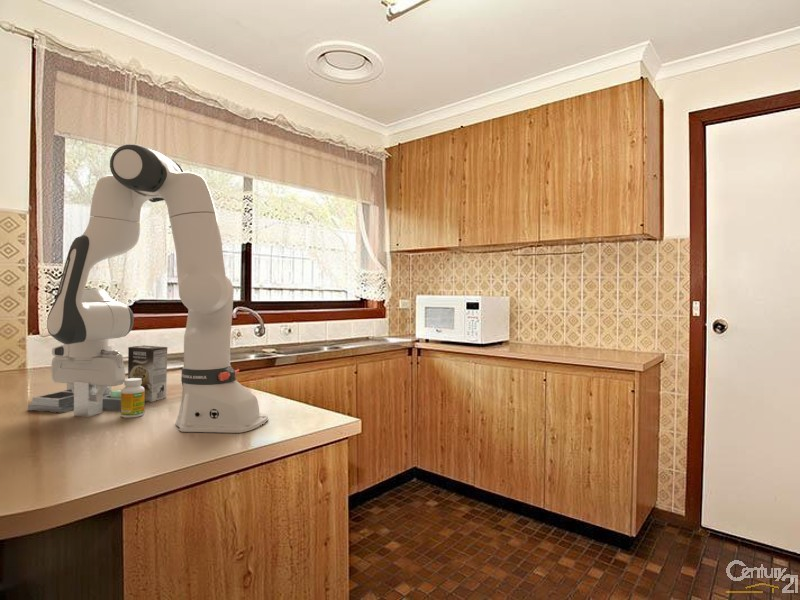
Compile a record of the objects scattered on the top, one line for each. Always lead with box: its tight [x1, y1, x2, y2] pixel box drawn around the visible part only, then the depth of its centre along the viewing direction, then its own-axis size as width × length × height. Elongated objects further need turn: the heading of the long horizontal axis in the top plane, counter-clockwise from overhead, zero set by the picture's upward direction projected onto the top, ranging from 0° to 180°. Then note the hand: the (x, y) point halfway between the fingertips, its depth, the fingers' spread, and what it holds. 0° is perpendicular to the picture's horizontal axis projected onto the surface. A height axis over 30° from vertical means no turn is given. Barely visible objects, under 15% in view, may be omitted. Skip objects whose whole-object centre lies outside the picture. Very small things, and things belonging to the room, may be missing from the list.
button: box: [109, 389, 122, 398], centre depth 131 cm, size 4×4×3 cm
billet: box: [73, 382, 104, 418], centre depth 122 cm, size 4×4×9 cm
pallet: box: [27, 387, 110, 414], centre depth 132 cm, size 11×17×10 cm, turn 169°
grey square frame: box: [103, 393, 121, 412], centre depth 131 cm, size 8×8×3 cm
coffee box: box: [127, 345, 168, 403], centre depth 141 cm, size 9×6×16 cm
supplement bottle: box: [120, 378, 145, 419], centre depth 122 cm, size 5×5×10 cm
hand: (88, 400), depth 122 cm, fingers closed on billet, 4 cm apart
